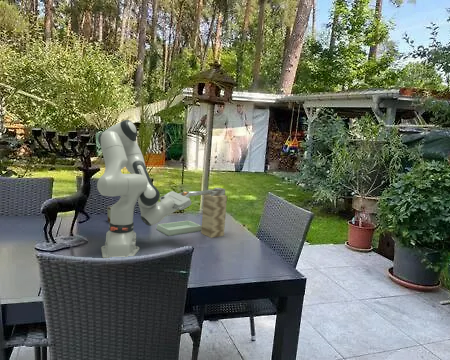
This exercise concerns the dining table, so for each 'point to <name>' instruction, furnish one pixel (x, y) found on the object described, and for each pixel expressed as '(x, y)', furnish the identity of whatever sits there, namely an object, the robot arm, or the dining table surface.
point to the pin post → (214, 213)
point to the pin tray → (178, 228)
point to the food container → (109, 212)
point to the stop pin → (197, 193)
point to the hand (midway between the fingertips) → (188, 192)
